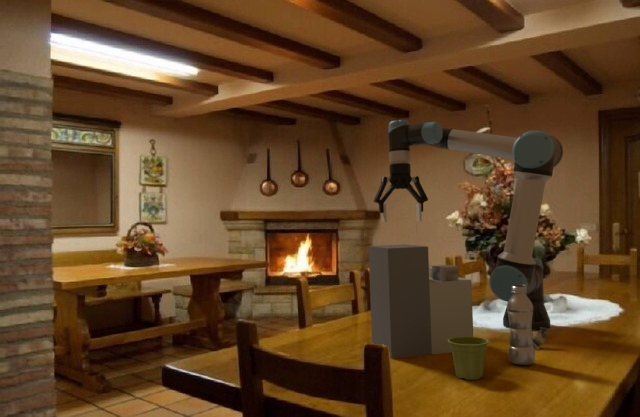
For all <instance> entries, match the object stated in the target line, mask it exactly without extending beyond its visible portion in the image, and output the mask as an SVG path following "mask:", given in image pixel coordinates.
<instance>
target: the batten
mask: <svg viewBox="0 0 640 417" xmlns="http://www.w3.org/2000/svg"><path fill="white" fill-rule="evenodd" d="M458 277H459V267H458V266H457V265H451V264H441V265H440V264H438V265H429V278H433V280H438V281H442V282H443V281H458Z"/></svg>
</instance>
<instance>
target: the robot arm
mask: <svg viewBox="0 0 640 417" xmlns="http://www.w3.org/2000/svg"><path fill="white" fill-rule="evenodd" d="M409 123H410V122H409V121H408V120H405V119H399V120H398V119H397V120H391V121H390V122H389V123H388V133H387V136H388V149H389V150H388V156H389V176H388V177H387V176H382V177H381V182H380V185H379V187H378V190H377V192H376V194H375V196H374V199H373V202H374V203H375V204H378V212H379V213H380V214H381V223H387V222H388V220H387V204H386V203H385V202H386V201H387V200H388V199H389V197H390V195H392V193H393V191H394V190H399V189H401V190H405V189H406V190H407V192H408V193H409V194H410V195H412V197H413V198H414V200H415V201H416V204H415V208H416V209H415V210H416V215H415V216H416V222H422V221H423V220H422V212H424V203H426V202H428V201H429V198H428V196H427V194H426V192H425V190H424V188H423V186H422V184H421V181H420V176H418V175H417V176H411V170H412V169H411V164H410V162H411V150H410V149H411V147H413V146H423V145H424V146H428V147H434V148H437V149H441V150H442V149H443V150H450V151H451V150H453V151H458V152H464V153H471V154H476V155H483V156H488V157H494V158H501V159H506V160H513V161H514V164H513V170H512V173H513V174H514V176H515V177H516V181H515V187H514V192H513V198H512V203H511V210H510V213H509V214H510V215H509V221H508V226H507V232H506V237H505V243H504V247H503V251H502V252H501V253H499V254H498V255H497V259H496V264H495V265H496V266H495V268H494V269H493V271H492V272H491V273H490V276H489V280H488V283H489V284H488V285H489V288H490V290H491V292H492V293H493V294H494V296H496V297H497V298H498V299H499V300H501V301H504V302H507V304H508V301H509V300H510V298H511V297H512V295H513V293H512V292H511V291H512V285H526V287H527V293H526V296H527V297H528V298H529V300H530V301H531V303H532V305H533V315H532V328H531V329H532V331H540V327H544V328H547V329H551V319H550V316H549V313H548V310H547V307H546V306H545V299H544V291H545V290H544V266H543V262H542V260H541V259H540V258H535V257H533V252H534V246H535V241H536V238H537V231H538V226H539V225H538V224H539V221H540V214H541V210H542V204H543V199H544V193H545V186H546V182H547V181H549V180H550V179H551V178H553V173H554V169H555V167H556V166H557V165H558V164H559V163H560V162H561V161H562V158H563V155H564V147H563V145H562V142H561V141H560V140H559V139H558V138H556V137H555V136H553V135H550V134H549V133H547V132H545V131H541V130H529V131H526V132H524V133H522V134H520V136H518V137H515V136H513V137H512V136H506V135H498V134H492V133H483V132H477V131H471V130H462V129H453V128H448V127H442V125H441V124H440V123H439V122H437V121H431V122H430V121H427V122H423V123H421V122H420V123H417V124H409ZM388 183H390V185H389V187H388V189H387V190H386V191H385V189H386V186H387V184H388ZM411 183H413V184H414V187H415V188H416V190H417V191H416V190H415V188H414V187H413V185H412V184H411ZM384 191H385V193H384ZM383 193H384V194H383ZM507 304H506V305H507ZM502 325H503V326H504V327H505V326H506V328H508V327H509V328H508V329H510V324H509V317H508V310H507V306H506V308H505V311H504V313H503V317H502Z"/></svg>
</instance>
